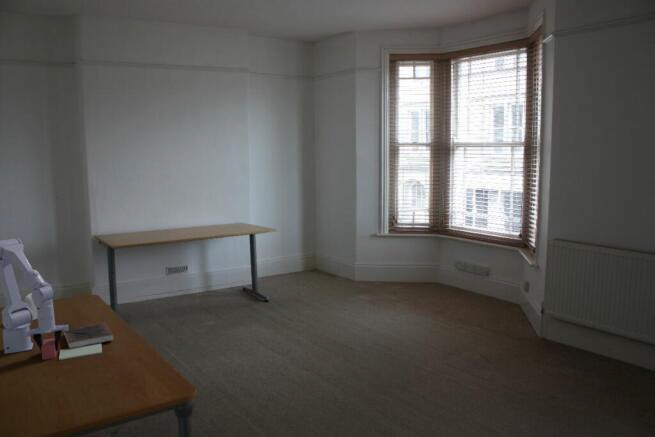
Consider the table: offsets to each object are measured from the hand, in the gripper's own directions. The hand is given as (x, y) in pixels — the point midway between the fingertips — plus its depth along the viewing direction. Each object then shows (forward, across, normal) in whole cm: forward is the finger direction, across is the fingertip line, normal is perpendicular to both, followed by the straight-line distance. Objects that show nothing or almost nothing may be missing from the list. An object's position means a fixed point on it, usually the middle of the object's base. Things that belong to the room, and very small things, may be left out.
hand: (49, 351), depth 219 cm
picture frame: (+1, +14, +13) cm, 19 cm away
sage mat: (+1, +11, -3) cm, 11 cm away
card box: (+1, 0, 0) cm, 1 cm away
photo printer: (+2, -8, +56) cm, 57 cm away
